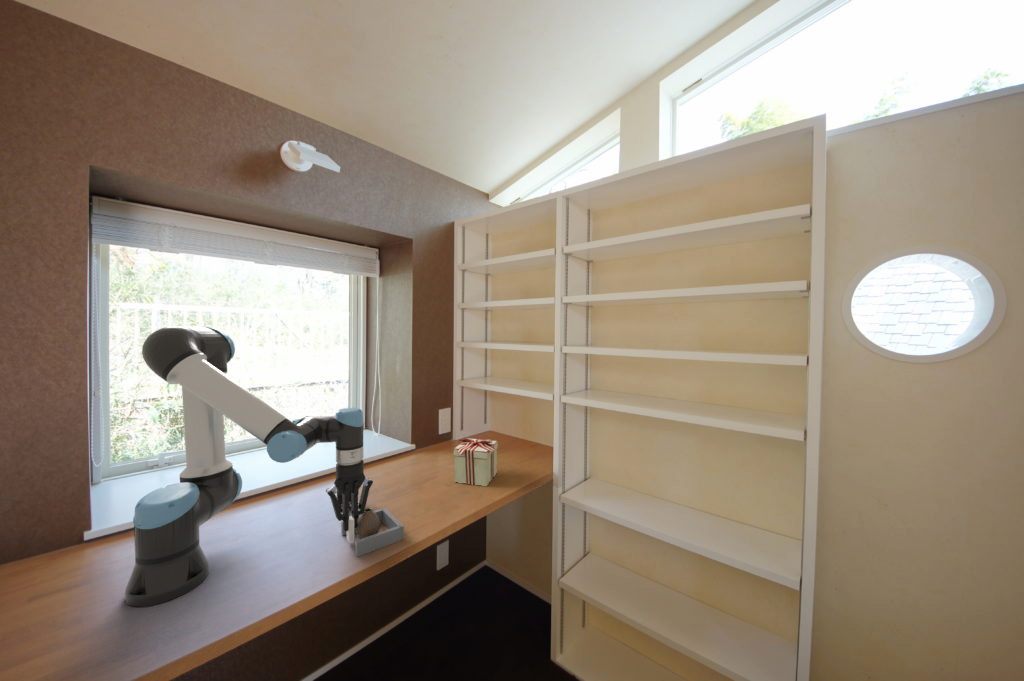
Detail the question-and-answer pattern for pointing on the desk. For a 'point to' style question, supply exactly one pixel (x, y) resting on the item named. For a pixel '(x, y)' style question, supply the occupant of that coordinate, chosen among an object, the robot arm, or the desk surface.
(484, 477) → the gift box
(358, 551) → the box
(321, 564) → the desk surface
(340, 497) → the battery charger
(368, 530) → the vase
